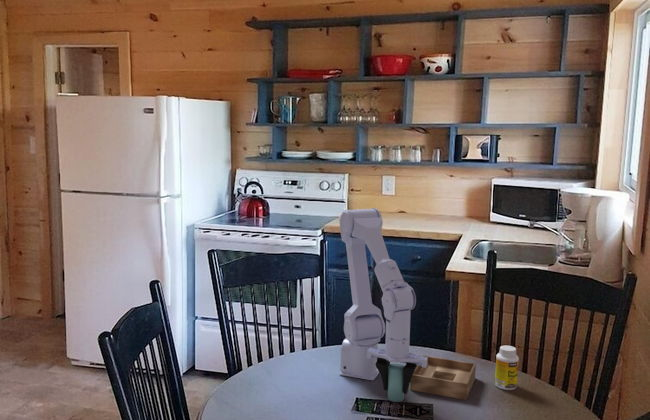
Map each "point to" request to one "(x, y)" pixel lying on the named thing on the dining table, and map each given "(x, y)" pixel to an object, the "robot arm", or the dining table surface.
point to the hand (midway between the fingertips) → (396, 390)
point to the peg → (395, 382)
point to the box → (444, 377)
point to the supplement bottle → (506, 368)
